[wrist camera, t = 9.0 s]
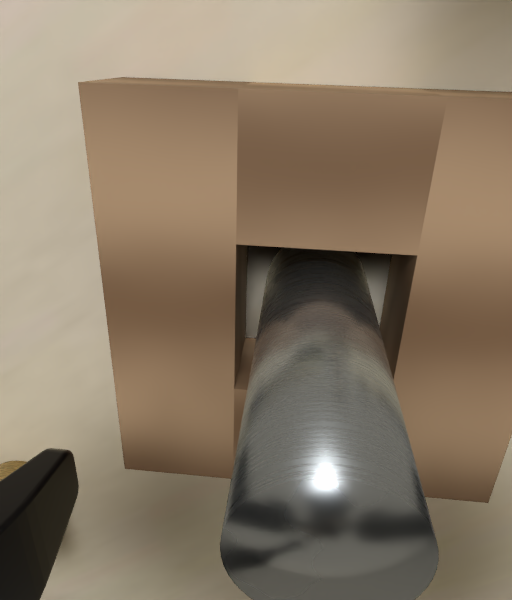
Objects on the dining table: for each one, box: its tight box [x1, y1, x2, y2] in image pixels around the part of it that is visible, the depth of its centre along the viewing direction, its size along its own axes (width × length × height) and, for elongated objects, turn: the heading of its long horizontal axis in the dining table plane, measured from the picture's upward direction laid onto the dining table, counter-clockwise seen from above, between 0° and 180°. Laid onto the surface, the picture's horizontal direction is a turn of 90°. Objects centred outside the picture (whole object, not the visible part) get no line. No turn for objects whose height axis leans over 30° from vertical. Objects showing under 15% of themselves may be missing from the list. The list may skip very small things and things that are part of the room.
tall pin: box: [220, 247, 438, 600], centre depth 12 cm, size 3×3×10 cm
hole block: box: [78, 77, 512, 503], centre depth 15 cm, size 12×12×3 cm
